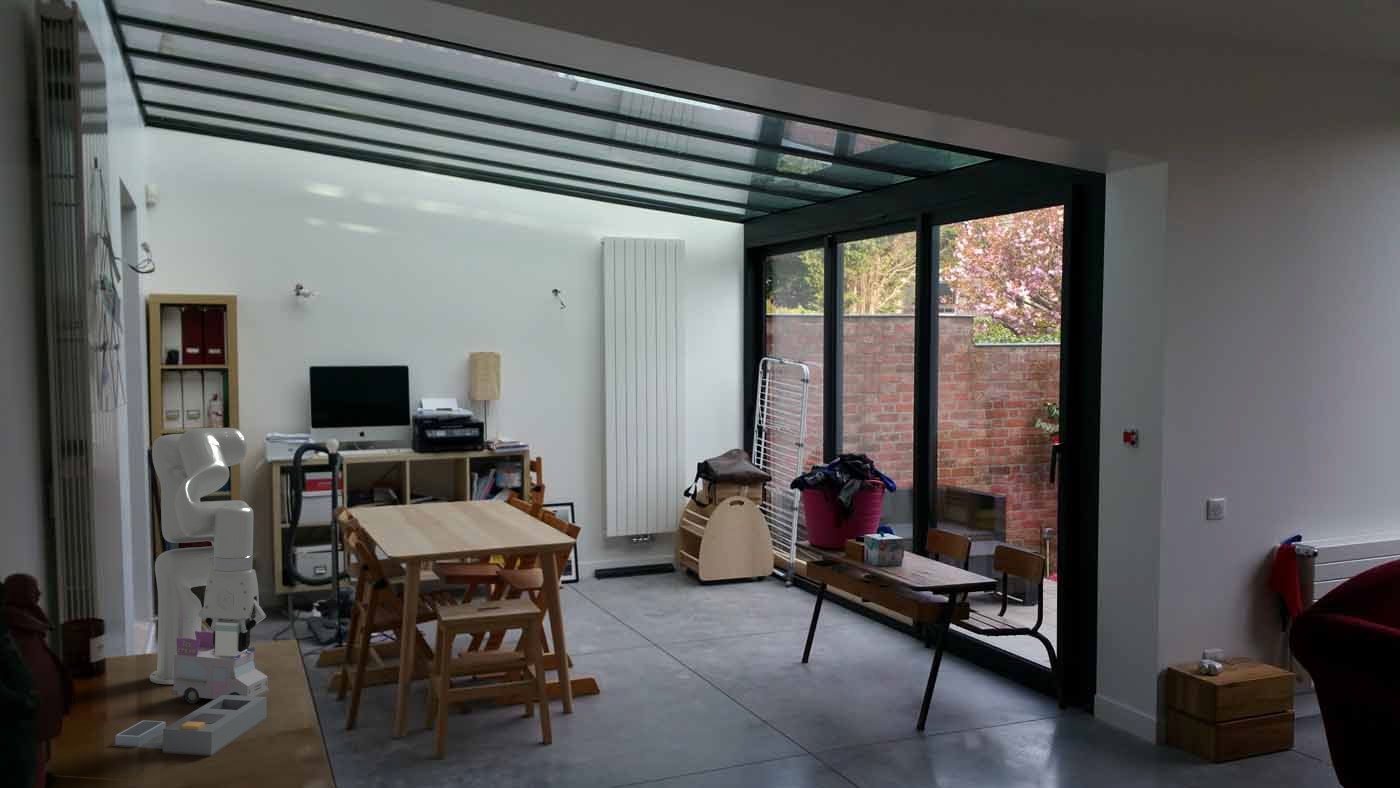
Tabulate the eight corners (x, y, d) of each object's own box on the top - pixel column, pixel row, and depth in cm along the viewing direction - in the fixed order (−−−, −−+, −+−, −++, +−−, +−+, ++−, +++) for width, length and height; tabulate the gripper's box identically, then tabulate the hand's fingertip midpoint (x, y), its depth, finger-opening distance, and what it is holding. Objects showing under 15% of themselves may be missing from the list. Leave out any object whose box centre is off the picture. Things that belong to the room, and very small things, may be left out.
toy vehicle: (245, 712, 230) (247, 645, 230) (169, 703, 234) (170, 637, 234) (270, 699, 239) (272, 635, 239) (196, 691, 243) (197, 628, 243)
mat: (141, 729, 217) (141, 728, 217) (196, 733, 216) (196, 731, 216) (111, 746, 207) (111, 745, 207) (168, 750, 206) (168, 748, 206)
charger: (226, 649, 222) (227, 616, 222) (247, 650, 222) (247, 617, 222) (214, 655, 217) (215, 622, 217) (235, 656, 217) (236, 623, 217)
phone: (142, 729, 217) (142, 720, 217) (165, 730, 216) (165, 721, 216) (115, 744, 208) (115, 735, 208) (139, 746, 207) (139, 736, 207)
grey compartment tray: (222, 717, 226) (222, 691, 226) (266, 719, 226) (266, 694, 226) (162, 754, 204) (163, 725, 204) (211, 757, 204) (211, 728, 204)
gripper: (184, 565, 216) (183, 652, 217) (262, 569, 215) (260, 656, 215) (204, 559, 224) (203, 642, 224) (280, 562, 222) (278, 646, 223)
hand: (231, 648), depth 220 cm, fingers closed on charger, 4 cm apart
